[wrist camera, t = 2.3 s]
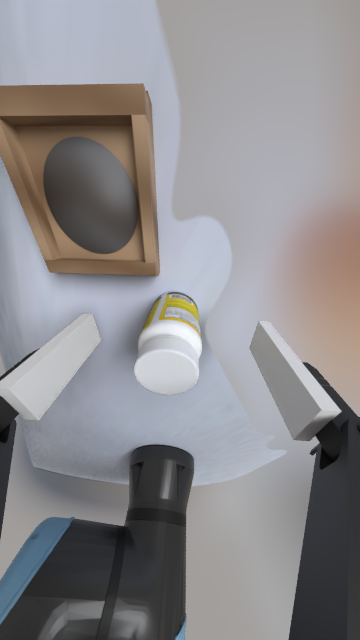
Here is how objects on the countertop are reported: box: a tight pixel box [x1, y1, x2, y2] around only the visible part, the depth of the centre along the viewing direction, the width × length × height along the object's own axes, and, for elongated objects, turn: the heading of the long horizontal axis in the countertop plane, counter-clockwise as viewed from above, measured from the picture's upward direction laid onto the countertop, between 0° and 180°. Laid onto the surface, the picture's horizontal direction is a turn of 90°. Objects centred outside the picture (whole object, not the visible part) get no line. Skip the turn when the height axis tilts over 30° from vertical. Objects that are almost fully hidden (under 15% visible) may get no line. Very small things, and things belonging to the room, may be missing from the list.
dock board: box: [0, 84, 160, 276], centre depth 11 cm, size 10×9×2 cm
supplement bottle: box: [134, 291, 202, 395], centre depth 13 cm, size 5×5×8 cm
